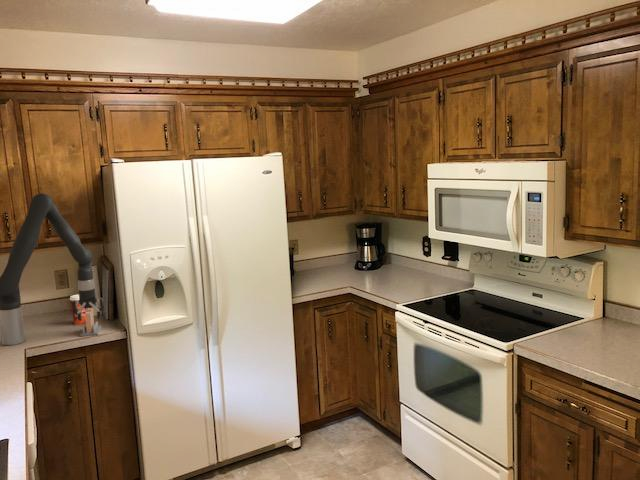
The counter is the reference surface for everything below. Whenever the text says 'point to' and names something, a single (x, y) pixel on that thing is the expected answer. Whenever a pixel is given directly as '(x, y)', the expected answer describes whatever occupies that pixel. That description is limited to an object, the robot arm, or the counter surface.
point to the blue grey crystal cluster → (94, 332)
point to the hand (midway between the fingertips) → (89, 319)
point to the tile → (89, 320)
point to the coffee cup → (83, 311)
